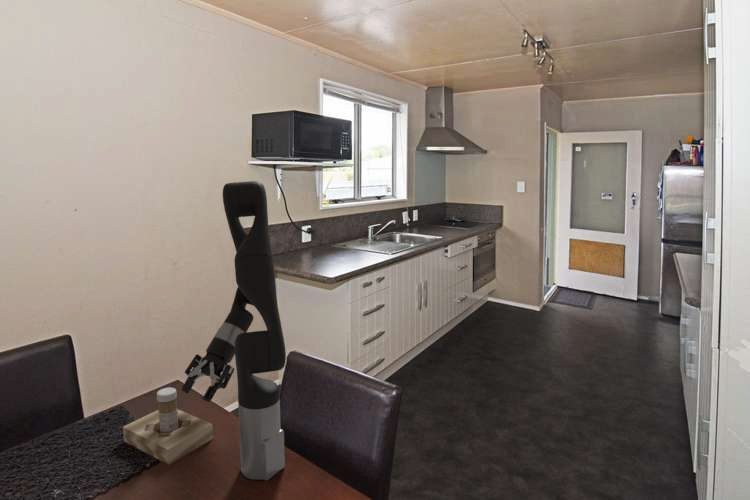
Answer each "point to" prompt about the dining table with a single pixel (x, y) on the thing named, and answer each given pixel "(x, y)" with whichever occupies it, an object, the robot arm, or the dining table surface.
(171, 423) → the sprinkles bottle
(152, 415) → the spice caddy
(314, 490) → the dining table surface
